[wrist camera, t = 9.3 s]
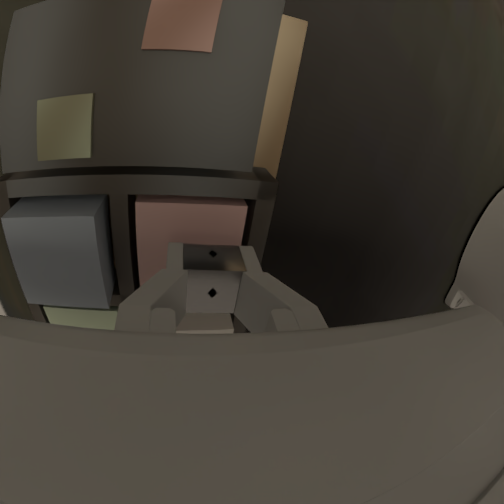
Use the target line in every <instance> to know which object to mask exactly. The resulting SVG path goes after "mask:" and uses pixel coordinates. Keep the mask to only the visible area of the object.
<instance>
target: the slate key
mask: <svg viewBox="0 0 504 504" xmlns="http://www.w3.org/2000/svg"><path fill="white" fill-rule="evenodd" d="M1 221H2V225H3V229H4V233H5V237H6V241H7V245H8V248H9V252H10V255H11V258H12V261H13V265H14V268H15V271H16V273H17V276H18V279H19V282H20V285H21V287H22V290H23V292H24V295H25V297H26V300H27V302H28V303H31V304H41V305H53V306H67V307H82V308H101V309H109V307H110V302H111V297H112V293H113V288H114V284H115V280H116V277H115V270H114V263H113V255H112V247H111V237H110V227H109V214H108V197H107V194H90V195H54V196H33V197H22V198H21V199H20V200H19V201H18V202H17V203H16V204H15V205H14V206H13V207H11V208H10V209H9V210H8V211H7V212H6V213H5V214H4V216H3V217H2V218H1Z"/></svg>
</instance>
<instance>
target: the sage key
mask: <svg viewBox="0 0 504 504" xmlns="http://www.w3.org/2000/svg"><path fill="white" fill-rule="evenodd" d="M43 308H44V310H45V313H46V315H47V317H48V320H49V322H50V323H51V324H58V325H66V326H75V327H84V328H94V329H105V330H114V329H115V323H116V318H117V313H118V308H119V306H110V307H109V309H101V308H82V307H67V306H53V305H44V306H43Z"/></svg>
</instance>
